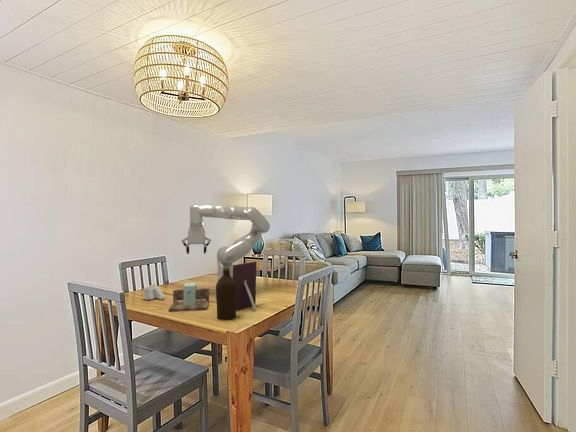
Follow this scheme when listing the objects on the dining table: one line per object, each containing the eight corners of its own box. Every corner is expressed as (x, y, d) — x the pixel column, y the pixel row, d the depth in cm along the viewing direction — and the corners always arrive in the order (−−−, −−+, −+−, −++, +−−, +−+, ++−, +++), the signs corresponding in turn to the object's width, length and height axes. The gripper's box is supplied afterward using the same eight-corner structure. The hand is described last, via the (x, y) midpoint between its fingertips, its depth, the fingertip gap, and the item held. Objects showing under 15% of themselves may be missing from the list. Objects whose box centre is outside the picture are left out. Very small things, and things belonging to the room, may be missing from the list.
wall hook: (161, 300, 192) (157, 284, 193) (146, 303, 194) (142, 287, 195) (169, 297, 200) (165, 281, 201) (154, 300, 202) (151, 284, 203)
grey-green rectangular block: (196, 301, 186) (196, 282, 186) (194, 306, 178) (194, 286, 178) (185, 302, 185) (185, 283, 185) (183, 306, 176) (183, 286, 176)
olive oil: (239, 318, 160) (239, 268, 160) (218, 321, 156) (218, 270, 156) (234, 312, 170) (234, 265, 170) (214, 315, 166) (213, 267, 166)
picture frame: (254, 304, 185) (254, 261, 185) (266, 307, 179) (266, 262, 179) (231, 311, 173) (231, 264, 172) (244, 315, 166) (244, 266, 166)
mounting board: (209, 303, 189) (209, 288, 189) (206, 310, 175) (206, 294, 175) (173, 304, 186) (173, 290, 186) (168, 311, 172) (168, 296, 172)
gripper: (211, 225, 200) (211, 252, 201) (182, 225, 198) (182, 253, 198) (210, 225, 193) (210, 254, 193) (180, 225, 190) (180, 254, 190)
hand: (196, 253), depth 196 cm, fingers open, 9 cm apart
